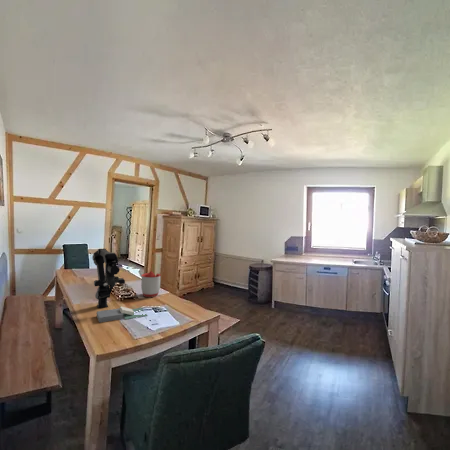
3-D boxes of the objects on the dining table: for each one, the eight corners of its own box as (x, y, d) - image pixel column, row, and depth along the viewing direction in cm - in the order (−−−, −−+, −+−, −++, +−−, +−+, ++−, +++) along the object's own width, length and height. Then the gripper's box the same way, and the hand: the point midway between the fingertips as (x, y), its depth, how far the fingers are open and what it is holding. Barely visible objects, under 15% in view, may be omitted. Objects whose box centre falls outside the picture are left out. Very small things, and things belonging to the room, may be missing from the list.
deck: (96, 316, 178) (96, 311, 178) (119, 312, 185) (119, 308, 185) (99, 322, 168) (99, 317, 168) (123, 318, 175) (123, 314, 175)
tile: (119, 309, 183) (120, 306, 183) (130, 311, 187) (131, 309, 187) (121, 312, 177) (122, 309, 177) (133, 315, 181) (134, 312, 181)
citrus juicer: (163, 292, 236) (164, 269, 235) (156, 298, 219) (157, 273, 218) (145, 291, 238) (146, 268, 237) (137, 297, 220) (138, 272, 220)
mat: (120, 311, 188) (120, 310, 188) (141, 308, 195) (141, 307, 195) (125, 319, 174) (125, 318, 174) (147, 315, 182) (147, 315, 182)
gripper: (96, 275, 173) (95, 299, 173) (126, 273, 183) (126, 296, 183) (94, 271, 182) (93, 295, 183) (123, 269, 192) (122, 291, 193)
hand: (109, 294), depth 185 cm, fingers closed
